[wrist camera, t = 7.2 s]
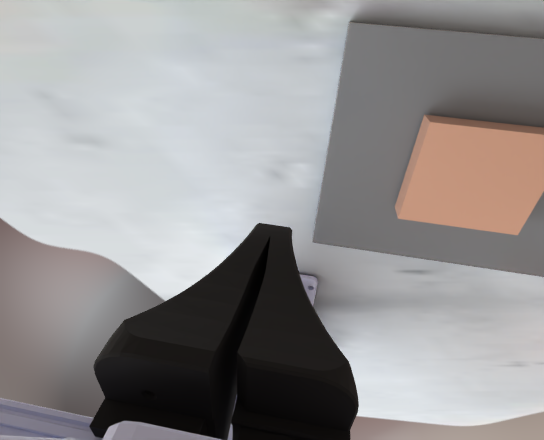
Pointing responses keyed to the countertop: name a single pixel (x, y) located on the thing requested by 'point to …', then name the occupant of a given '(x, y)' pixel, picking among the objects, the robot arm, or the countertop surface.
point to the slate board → (404, 130)
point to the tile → (473, 174)
